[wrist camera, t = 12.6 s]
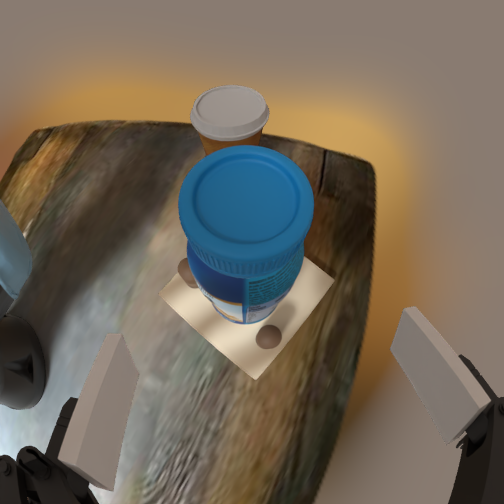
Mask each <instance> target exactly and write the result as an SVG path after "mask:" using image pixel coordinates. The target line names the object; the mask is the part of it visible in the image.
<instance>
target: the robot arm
mask: <svg viewBox="0 0 504 504" xmlns="http://www.w3.org/2000/svg"><path fill="white" fill-rule="evenodd" d="M31 271H32V255H31V252H30V249H29V246H28V244H27V242H26V240H25V238H24V236H23V234H22V232H21V231H20V229H19V227H18V225H17V224H16V222H15V220H14V219H13V217H12V216H11V214H10V213H9V211H8V210H7V208H6V207H5V205H4V204H3V202H2V201H1V200H0V404H2V405H5V406H7V407H10V408H12V409H16V410H21V409H29V408H32V407H34V406H35V405H36V404H37V403H38V402H39V400H40V398H41V396H42V393H43V389H44V384H45V365H44V358H43V353H42V349H41V346H40V343H39V341H38V338H37V336H36V334H35V332H34V331H33V329H32V328H31V326H30V325H29V324H28V323H27V322H26V321H25V320H23V319H22V318H20V317H17V316H13V315H10V314H5V313H6V312H7V310H8V309H9V307H10V305H11V304H12V302H13V301H14V299H17V298H18V296H19V291H20V290H21V288H22V287H23V285H24V283H25V282H26V280H27V279H28V277H29V275H30V273H31ZM390 350H391V352H392V354H393V355H394V357H395V358H396V360H397V361H398V363H399V365H400V366H401V368H402V369H403V371H404V373H405V374H406V376H407V377H408V379H409V381H410V382H411V384H412V386H413V387H414V389H415V391H416V392H417V394H418V395H419V397H420V399H421V401H422V402H423V404H424V406H425V408H426V409H427V411H428V413H429V415H430V416H431V418H432V420H433V422H434V423H435V425H436V427H437V429H438V431H439V433H440V434H441V436H442V438H443V440H444V442H445V444H446V445H447V444H449V443H451V442H452V441H454V440H456V439H457V438H459V437H460V436H461V435H462V434H463V433H464V431H466V433H467V434H466V435H465V436H464V437H463V438H462V439H461V440H460V441H459V443H458V444H457V446H456V448H458V447H459V446H460V445H461V444H462V443H463V445H462V446H461V449H462V454H461V459H460V463H459V467H458V472H457V476H456V480H455V483H454V487H453V490H452V493H451V497H450V500H449V503H448V504H504V397H500V398H498V397H497V396H496V394H495V393H494V392H493V390H492V389H491V388H490V386H489V385H488V384H487V382H486V381H485V380H484V378H483V377H482V376H481V375H480V373H479V372H478V370H477V369H475V367H474V365H473V364H472V363H471V362H470V360H468V359H467V358H465V357H464V356H463V355H459V356H458V355H457V354H456V353H455V352H454V351H453V349H452V348H451V347H450V346H449V344H448V343H447V342H446V341H445V340H444V338H443V337H442V336H441V335H440V334H439V333H438V331H437V330H436V329H435V328H434V327H433V326H432V324H431V323H430V322H429V321H428V320H427V319H426V318H425V316H424V315H423V314H422V313H421V312H420V311H419V310H418V309H417V308H416V307H415V306H414V307H409V308H404V309H403V312H402V316H401V319H400V322H399V325H398V328H397V331H396V334H395V337H394V340H393V342H392V345H391V348H390ZM138 377H139V372H138V370H137V368H136V366H135V364H134V361H133V359H132V357H131V354H130V352H129V350H128V347H127V345H126V342H125V340H124V337H123V335H122V334H112V333H108V334H107V336H106V338H105V340H104V342H103V344H102V346H101V348H100V350H99V353H98V355H97V357H96V359H95V361H94V364H93V366H92V368H91V370H90V373H89V375H88V377H87V380H86V382H85V384H84V387H83V389H82V392H81V394H80V396H79V399H78V398H72V397H71V398H70V399H69V400H68V401H67V402H66V403H65V404H64V405H63V407H62V410H61V412H60V415H59V416H60V417H59V418H58V420H57V422H56V426H55V428H54V430H53V433H52V436H51V439H50V441H49V444H48V447H47V450H46V453H45V455H44V454H43V453H42V452H40V451H39V450H38V449H37V448H36V447H33V446H25V447H24V448H22V449H21V450H20V451H19V453H18V455H17V459H16V461H17V462H16V461H15V460H14V459H13V458H11V457H10V456H8V455H2V456H0V504H99V503H98V502H97V500H96V498H95V496H94V495H93V493H92V491H91V490H90V489H89V488H88V486H89V483H91V484H92V485H94V486H96V487H98V488H102V489H105V490H109V491H113V490H114V484H115V478H116V472H117V467H118V462H119V457H120V452H121V447H122V442H123V437H124V433H125V429H126V424H127V420H128V416H129V412H130V408H131V404H132V400H133V396H134V392H135V388H136V385H137V381H138ZM27 497H28V498H27Z"/></svg>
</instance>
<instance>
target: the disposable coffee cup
mask: <svg viewBox="0 0 504 504" xmlns="http://www.w3.org/2000/svg"><path fill="white" fill-rule="evenodd" d="M268 118H269V108H268V106H267V104H266V102H265V99H264V98H263V96H262V95H261V94H260V93H259V92H257V91H255V90H254V89H251V88H248V87H245V86H239V85H224V86H219V87H215V88H212V89H209V90H207V91H205V92H204V93H202V94H201V95H200V96H199V97H198V98H197V99H196V100H195V102H194V105H193V108H192V111H191V115H190V119H191V122H192V125H193V126H194V127H195V129H196V130H197V131H198V133H199V135H200V138H201V141H202V144H203V147H204V150H205V152H206V155H207V156H208V155H209V154H211V153H213V152H215V151H218V150H220V149H224V148H227V147H232V146H239V145H253V146H258V145H259V141H260V137H261V134H262V129H263V127H264V125H265V124H266V122H267V120H268Z"/></svg>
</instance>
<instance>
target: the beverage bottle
mask: <svg viewBox="0 0 504 504" xmlns="http://www.w3.org/2000/svg"><path fill="white" fill-rule="evenodd" d="M178 206H179V207H178V208H179V216H180V217H179V218H180V221H181V225H182V228H183V230H184V232H185V235H186V237H187V239H188V242H187V258H188V263H189V267H190V270H191V272H192V274H193V276H194V278H195V281H196V283H197V285H198V287H199V289H200V290H201V292H202V293H203V294H204V296H205V297H206V298H207V299H208V300H209V301H210V302H211V303H212V305H213V307H214V308H215V310H216V311H217V312H218V313H219V314H220V315H221V316H222V317H223V318H225V319H226V320H228V321H230V322H233V323H236V324H242V325H248V324H254V323H257V322H260V321H262V320H264V319H265V318H267V317H268V316H269V315H270V314H271V313H272V312H273V311H274V310H275V308H276V307H277V305H278V303H279V302H280V301H282V300H283V299H284V298H285V297H286V295H287V294H288V293H289V292H290V290H291V288H292V287H293V285H294V283H295V280H296V278H297V276H298V274H299V272H300V270H301V267H302V264H303V259H304V239H305V237H306V235H307V233H308V231H309V228H310V226H311V222H312V220H313V219H312V218H313V211H314V197H313V192H312V188H311V185H310V183H309V181H308V179H307V177H306V175H305V174H304V173H303V171H302V170H301V169H300V168H299V167H298V166H297V165H296V164H295V163H294V162H293V161H292V160H291V159H289V158H288V157H286V156H285V155H283V154H281V153H279V152H277V151H274V150H272V149H269V148H265V147H260V146H253V145H239V146H232V147H227V148H224V149H220V150H218V151H215V152H213V153H211V154H209V155H208V156H206V157H204V158H203V159H202V160H200V161H199V162H198V163H197V164H196V165H195V166H194V167H193V168H192V169H191V170H190V172H189V173H188V174H187V176H186V178H185V179H184V181H183V184H182V186H181V189H180V193H179V201H178Z"/></svg>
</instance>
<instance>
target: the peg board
mask: <svg viewBox="0 0 504 504" xmlns="http://www.w3.org/2000/svg"><path fill="white" fill-rule="evenodd" d="M334 281H335V280H334V279H333V278H331V277H330V276H329V275H328V274H326V273H325V272H324V271H323V270H321V269H320V268H319V267H317V266H316V265H315V264H314V263H312V262H311V261H310V260H309V259H307V258H306V257H305V256H304V259H303V264H302V267H301V270H300V272H299V274H298V276H297V278H296V280H295V283H294V285H293V287H292V288H291V290H290V292H289V293H288V294H287V295H286V297H285V298H284V299H283V300H282V301H280V302H279V303H278V305H277V307H276V308H275V310H274V311H273V312H272V313H271V314H270V315H269V316H268V317H267V318H265V319H264V320H262V321H260V322H257V323H254V324H248V325H242V324H236V323H233V322H230V321H228V320H226V319H225V318H223V317H222V316H221V315H220V314H219V313H218V312H217V311H216V310H215V308H214V307H213V305H212V303H211V302H210V301H209V300H208V299H207V298H206V297H205V296H204V294H203V293H202V292H201V290H200V289H199V287H198V285H197V283H196V281H195V278H194V276H193V274H192V272H191V270H190V267H189V263H188V258H185V259H183V260H182V261H181V262H180V263H179V265H178V273H177V274H176V275H175V276H174V277H173V278H172V279H171V280H170V282H169V283H168V284H167V285H166V286H165V287H164V288H163V289H162V290H161V291H160V292H159V293H158V294H159V295H160V296H161V297H162V298H163V299H164V300H165V301H166V302H167V303H168V304H169V305H170V306H171V307H172V308H173V309H174V310H175V311H176V312H177V313H178V314H179V315H180V316H181V317H182V318H184V319H185V320H186V321H187V322H188V323H189V324H190V325H191V326H192V327H193V328H194V329H195V330H197V331H198V332H199V333H200V334H201V335H202V336H203V337H204V338H206V339H207V340H208V341H209V342H210V343H211V344H212V345H213V346H215V347H216V348H217V349H218V350H219V351H220V352H222V353H223V354H224V355H225V356H226V357H228V358H229V359H230V360H231V361H232V362H234V363H235V364H236V365H237V366H238V367H240V368H241V369H242V370H243V371H245V372H246V373H247V374H248V375H250V376H251V377H252V378H253V379H255V380H256V379H257V378H258V377H259V376H260V375H261V374H262V372H263V371H264V370H265V369H266V368H267V367H268V365H269V364H270V363H271V362H272V361H273V360H274V358H275V357H276V356H277V355H278V354H279V352H280V351H281V350H282V349H283V347H284V346H285V345H286V344H287V343H288V341H289V340H290V339H291V338H292V336H293V335H294V334H295V333H296V331H297V330H298V329H299V328H300V326H301V325H302V324H303V322H304V321H305V320H306V319H307V317H308V316H309V315H310V313H311V312H312V311H313V309H314V308H315V307H316V305H317V304H318V303H319V301H320V300H321V299H322V297H323V296H324V295H325V293H326V292H327V290H328V289H329V288H330V286H331V285H332V283H333V282H334Z"/></svg>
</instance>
